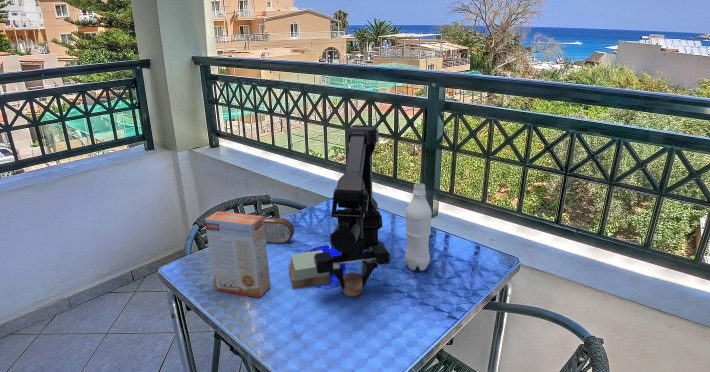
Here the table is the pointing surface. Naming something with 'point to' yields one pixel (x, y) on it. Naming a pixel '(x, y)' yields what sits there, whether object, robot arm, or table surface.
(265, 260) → the cracker box
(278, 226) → the tin
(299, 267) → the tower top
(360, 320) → the table surface
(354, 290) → the puck
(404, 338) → the table surface
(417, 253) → the water bottle
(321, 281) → the tower base
